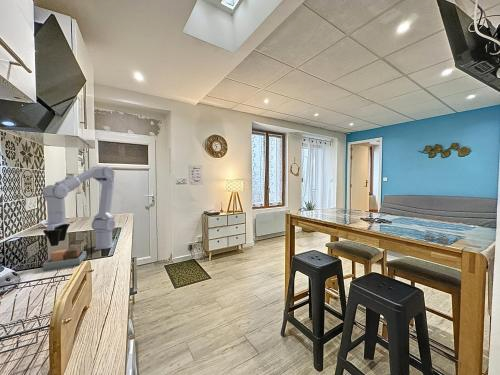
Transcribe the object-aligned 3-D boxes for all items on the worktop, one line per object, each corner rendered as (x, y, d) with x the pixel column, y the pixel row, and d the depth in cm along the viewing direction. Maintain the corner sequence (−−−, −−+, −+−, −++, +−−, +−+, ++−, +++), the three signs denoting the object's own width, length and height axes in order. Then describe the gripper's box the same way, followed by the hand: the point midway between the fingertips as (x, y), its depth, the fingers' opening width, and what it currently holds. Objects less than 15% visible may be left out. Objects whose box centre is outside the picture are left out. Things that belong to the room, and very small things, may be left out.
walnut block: (80, 258, 97) (79, 247, 97) (77, 261, 93) (77, 250, 93) (69, 259, 95) (68, 248, 95) (66, 262, 92) (65, 251, 91)
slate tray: (54, 261, 96) (53, 255, 96) (86, 256, 101) (86, 250, 101) (43, 270, 86) (42, 264, 86) (79, 265, 91) (79, 258, 91)
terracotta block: (66, 259, 95) (66, 249, 95) (63, 263, 91) (62, 251, 91) (55, 261, 93) (54, 250, 93) (51, 264, 90) (50, 253, 89)
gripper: (51, 210, 96) (53, 239, 97) (36, 215, 83) (38, 249, 84) (71, 209, 99) (72, 237, 100) (59, 214, 86) (60, 246, 87)
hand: (58, 243), depth 92 cm, fingers open, 7 cm apart
